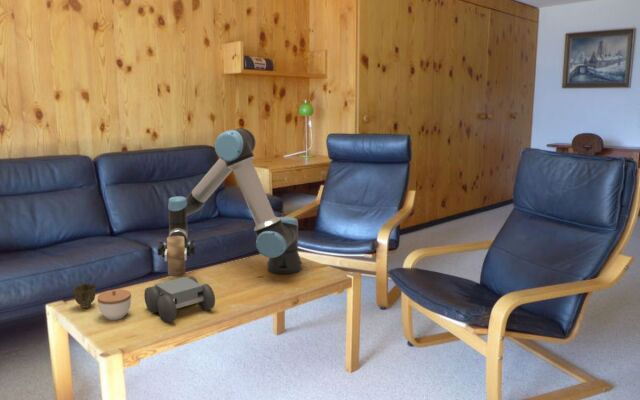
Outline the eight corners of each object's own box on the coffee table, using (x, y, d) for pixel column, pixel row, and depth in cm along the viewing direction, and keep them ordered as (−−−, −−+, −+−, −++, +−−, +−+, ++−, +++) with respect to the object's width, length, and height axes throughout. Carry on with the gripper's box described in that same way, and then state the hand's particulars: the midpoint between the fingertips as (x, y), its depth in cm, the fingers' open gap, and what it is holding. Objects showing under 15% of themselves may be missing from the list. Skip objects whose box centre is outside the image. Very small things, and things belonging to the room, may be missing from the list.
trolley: (188, 296, 200) (187, 272, 198) (215, 311, 186) (214, 286, 184) (145, 308, 188) (143, 283, 186) (170, 326, 175) (169, 299, 173)
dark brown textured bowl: (101, 305, 191) (100, 284, 189) (87, 313, 184) (85, 291, 182) (84, 302, 193) (83, 281, 191) (69, 310, 186) (67, 288, 184)
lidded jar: (95, 314, 183) (93, 289, 181) (126, 307, 189) (124, 282, 187) (104, 325, 174) (102, 299, 172) (136, 317, 181) (134, 292, 179)
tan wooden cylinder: (180, 269, 206) (179, 234, 203) (188, 273, 201) (187, 238, 198) (165, 272, 201) (163, 237, 198) (173, 277, 197) (172, 241, 194)
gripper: (201, 247, 219) (202, 265, 198) (153, 249, 215) (148, 268, 193) (201, 230, 218) (202, 246, 196) (152, 231, 214) (147, 248, 192)
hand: (175, 257), depth 195 cm, fingers closed on tan wooden cylinder, 6 cm apart
